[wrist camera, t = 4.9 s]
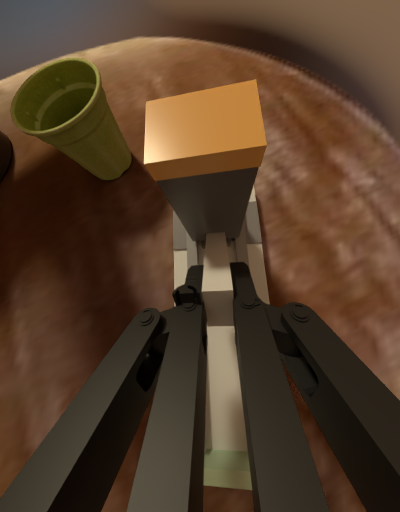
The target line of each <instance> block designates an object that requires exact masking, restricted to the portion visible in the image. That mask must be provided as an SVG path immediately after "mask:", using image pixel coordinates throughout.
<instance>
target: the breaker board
mask: <svg viewBox="0 0 400 512" xmlns="http://www.w3.org/2000/svg"><path fill="white" fill-rule="evenodd" d="M230 240H231V245H230V247H227V250H228V257H229V263H231V262H245V263H246V264H247V265H248V267H249V270H250V273H251V277H252V280H253V283H254V286H255V290H256V293H257V295H258V297H259V298H260V299H261V300H262V301H263V302H264V303H266V304H268V305H270V302H269V295H268V287H267V280H266V272H265V265H264V257H263V250H262V239H261V231H260V224H259V216H258V209H257V202H256V198H255V191H254V185H253V189H252V193H251V196H250V200H249V203H248V207H247V211H246V214H245V218H244V221H243V225H242V228H241V232H240V236H239V237H238V238H230ZM173 250H174V290H175V289H176V288H177V287H179V286H181V285H184V284H185V279H186V275H187V270H188V269H189V268H190V267H191V266H193V265H204V258H205V249H203V248H202V246H201V241H192V239H191V238H190V236H189V234H188V233H187V231H186V229H185V228H184V226H183V224H182V223H181V221H180V219H179V218H178V216H177V214H176V213H175V211H173ZM175 306H176V305H175ZM207 335H208V344H207V380H206V415H205V451H204V485H205V486H215V487H225V488H235V489H245V490H252V484H251V475H250V466H249V457H248V449H247V440H246V431H245V422H244V413H243V404H242V396H241V387H240V378H239V369H238V360H237V351H236V344H235V329H234V326H211V327H208V326H207Z"/></svg>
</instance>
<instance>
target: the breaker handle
mask: <svg viewBox="0 0 400 512" xmlns="http://www.w3.org/2000/svg"><path fill="white" fill-rule="evenodd" d="M266 146H267V144H266V138H265V132H264V126H263V120H262V113H261V107H260V101H259V95H258V89H257V83H256V80H251V81H246V82H241V83H236V84H231V85H226V86H221V87H216V88H212V89H207V90H202V91H197V92H192V93H187V94H182V95H177V96H172V97H167V98H162V99H157V100H152V101H147V102H146V122H145V149H144V165H145V166H146V168H147V170H148V171H149V173H150V174H151V176H152V178H153V179H154V181H157V183H158V185H159V186H160V188H161V190H162V191H163V193H164V195H165V196H166V198H167V199H168V201H169V203H170V204H171V206H172V208H173V209H174V211H175V213H176V214H177V216H178V218H179V219H180V221H181V223H182V224H183V226H184V228H185V229H186V231H187V233H188V234H189V236H190V238H191V239H192V241H201V246H202V248H203V249H205V246H206V234H208V233H219V232H225V236H226V243H227V247H230V245H231V240H230V238H238V237H239V236H240V232H241V228H242V225H243V221H244V218H245V214H246V211H247V207H248V203H249V200H250V196H251V193H252V189H253V185H254V182H255V178H256V175H257V171H258V167H260V166H261V163H262V159H263V156H264V153H265V149H266Z"/></svg>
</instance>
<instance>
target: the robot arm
mask: <svg viewBox="0 0 400 512" xmlns="http://www.w3.org/2000/svg"><path fill="white" fill-rule="evenodd" d="M10 159H11V143H10V141H9V139H8V137H7V136H6V135H5V134H4V133H2V132H1V131H0V180H1V179H2V177H3V175H4V174H5V172H6V170H7V168H8V165H9V163H10ZM172 295H173V298H174V301H175V305H176V306H175V307H173V308H171V309H169V310H166V311H163V312H159V311H158V310H157V309H155V308H147V309H144V310H142V311H140V312H139V313H138V314H137V315H136V316H135V317H134V318H133V320H132V321H131V322H130V324H129V325H128V326H127V328H126V329H125V330H124V332H123V333H122V334H121V336H120V337H119V339H118V340H117V341H116V343H115V344H114V345H113V347H112V348H111V349H110V351H109V352H108V353H107V355H106V356H105V357H104V359H103V360H102V362H101V363H100V364H99V366H98V367H97V368H96V370H95V371H94V372H93V374H92V375H91V376H90V378H89V379H88V380H87V382H86V383H85V385H84V386H83V387H82V389H81V390H80V391H79V393H78V394H77V395H76V397H75V398H74V399H73V401H72V402H71V403H70V405H69V406H68V408H67V409H66V410H65V412H64V413H63V414H62V416H61V417H60V418H59V420H58V421H57V422H56V424H55V425H54V426H53V428H52V429H51V431H50V432H49V433H48V435H47V436H46V437H45V439H44V440H43V441H42V443H41V444H40V445H39V447H38V448H37V449H36V451H35V452H34V454H33V455H32V456H31V458H30V459H29V460H28V462H27V463H26V464H25V466H24V467H23V468H22V470H21V471H20V472H19V474H18V475H17V477H16V478H15V479H14V481H13V482H12V483H11V485H10V486H9V487H8V489H7V490H6V491H5V493H4V494H3V495H2V497H1V498H0V512H101V510H102V508H103V506H104V503H105V501H106V499H107V497H108V494H109V492H110V490H111V488H112V485H113V483H114V481H115V478H116V476H117V474H118V472H119V469H120V467H121V465H122V462H123V460H124V458H125V456H126V453H127V451H128V449H129V447H130V444H131V442H132V440H133V437H134V435H135V433H136V431H137V428H138V426H139V424H140V421H141V419H142V417H143V415H144V412H145V410H146V408H147V406H148V403H149V401H150V399H151V396H152V394H153V392H154V390H155V387H156V385H157V387H156V391H155V395H154V399H153V403H152V408H151V412H150V416H149V420H148V424H147V428H146V433H145V437H144V441H143V445H142V449H141V454H140V458H139V462H138V466H137V470H136V474H135V479H134V483H133V487H132V491H131V495H130V499H129V504H128V508H127V512H203V486H204V451H205V415H206V380H207V344H208V335H207V326H208V327H211V326H234V329H235V344H236V351H237V360H238V369H239V378H240V387H241V396H242V404H243V413H244V422H245V431H246V440H247V449H248V457H249V466H250V475H251V484H252V493H253V502H254V511H255V512H330V511H329V508H328V504H327V501H326V498H325V495H324V492H323V489H322V486H321V483H320V480H319V477H318V473H317V470H316V467H315V464H314V461H313V458H312V455H311V452H310V449H309V445H308V442H307V439H306V436H305V433H304V430H303V427H302V424H301V421H300V417H299V414H298V411H297V408H296V405H295V402H294V399H293V396H292V393H291V389H290V386H289V383H288V380H287V377H286V374H285V371H284V368H283V365H282V362H283V363H284V365H285V367H286V369H287V371H288V372H289V374H290V376H291V378H292V379H293V381H294V383H295V385H296V387H297V388H298V390H299V392H300V394H301V395H302V397H303V399H304V401H305V402H306V404H307V406H308V408H309V410H310V411H311V413H312V415H313V417H314V418H315V420H316V422H317V424H318V426H319V427H320V429H321V431H322V433H323V434H324V436H325V438H326V440H327V442H328V443H329V445H330V447H331V449H332V450H333V452H334V454H335V456H336V457H337V459H338V461H339V463H340V465H341V466H342V468H343V470H344V472H345V473H346V475H347V477H348V479H349V481H350V482H351V484H352V486H353V488H354V489H355V491H356V493H357V495H358V497H359V498H360V500H361V502H362V504H363V505H364V507H365V509H366V511H367V512H400V401H399V400H398V399H397V397H396V396H395V395H394V394H393V393H392V392H391V391H390V390H389V389H388V388H387V387H386V386H385V385H384V384H383V383H382V382H381V381H380V380H379V379H378V378H377V377H376V376H375V374H374V373H373V372H372V371H371V370H370V369H369V368H368V367H367V366H366V365H365V364H364V363H363V362H362V361H361V360H360V359H359V358H358V357H357V356H356V355H355V354H354V352H353V351H352V350H351V349H350V348H349V347H348V346H347V345H346V344H345V343H344V342H343V341H342V340H341V339H340V338H339V337H338V336H337V335H336V334H335V333H334V332H333V331H332V329H331V328H330V327H329V326H328V325H327V324H326V323H325V322H324V321H323V320H322V319H321V318H320V317H319V316H318V315H317V314H316V313H315V312H314V311H313V310H312V309H311V308H309V307H308V306H306V305H304V304H301V303H296V302H295V303H288V304H286V305H284V307H283V308H280V307H276V306H272V305H268V304H266V303H264V302H263V301H262V300H261V299H260V298H259V297H258V295H257V293H256V290H255V286H254V283H253V280H252V277H251V273H250V270H249V267H248V265H247V264H246V263H245V262H231V263H229V257H228V250H227V243H226V236H225V232H219V233H208V234H206V246H205V258H204V265H193V266H191V267H190V268H189V269H188V270H187V275H186V279H185V284H184V285H181V286H179V287H177V288H176V289H175V290H174V292H173V294H172ZM281 360H282V361H281Z"/></svg>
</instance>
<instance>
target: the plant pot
mask: <svg viewBox="0 0 400 512" xmlns="http://www.w3.org/2000/svg"><path fill="white" fill-rule="evenodd" d="M10 112H11V118H12V121H13V122H14V124H15V125H16V126H17V127H18V128H19V129H20V130H21V131H23V132H24V133H26V134H28V135H31V136H36V137H38V138H39V139H41V140H42V141H44V142H46V143H48V144H51V145H53V146H54V147H55V148H57V149H58V150H60V151H61V152H63V153H64V154H66V155H67V156H68V157H70V158H71V159H73V160H74V161H75V162H77V163H78V164H80V165H81V166H82V167H84V168H85V169H87V170H88V171H89V172H91V173H92V174H93V175H95V176H96V177H98V178H100V179H102V180H113V179H116V178H118V177H120V176H121V174H122V173H123V172H124V171H125V170H127V169H128V168H129V166H130V164H131V160H132V156H131V152H130V150H129V148H128V146H127V144H126V141H125V139H124V137H123V135H122V133H121V131H120V129H119V127H118V125H117V123H116V120H115V118H114V116H113V114H112V112H111V109H110V107H109V105H108V103H107V100H106V95H105V92H104V90H103V88H102V81H101V76H100V73H99V71H98V69H97V68H96V66H95V65H94V64H93V63H91V62H90V61H88V60H85V59H82V58H67V59H62V60H58V61H55V62H52V63H49V64H47V65H46V66H44V67H42V68H41V69H39V70H38V71H36V72H35V73H34V74H33V75H31V76H30V77H29V78H28V79H27V80H26V81H25V82H24V83H23V84H22V85H21V87H20V88H19V89H18V91H17V93H16V94H15V96H14V98H13V101H12V104H11V110H10Z"/></svg>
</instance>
